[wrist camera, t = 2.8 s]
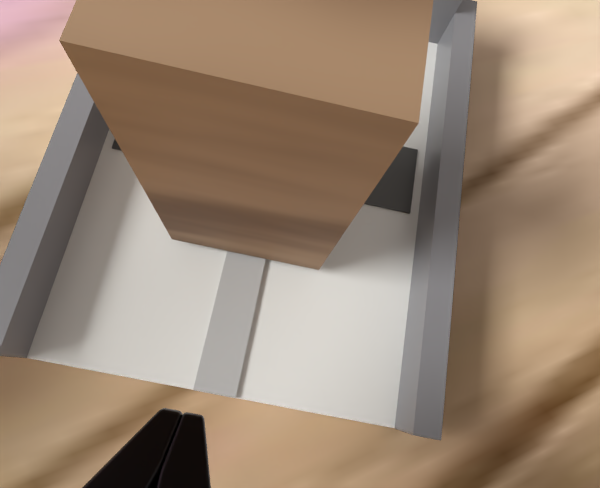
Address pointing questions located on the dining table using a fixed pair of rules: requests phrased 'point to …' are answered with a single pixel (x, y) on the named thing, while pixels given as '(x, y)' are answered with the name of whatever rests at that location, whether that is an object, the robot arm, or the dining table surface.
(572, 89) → the dining table surface
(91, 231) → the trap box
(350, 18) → the slider
